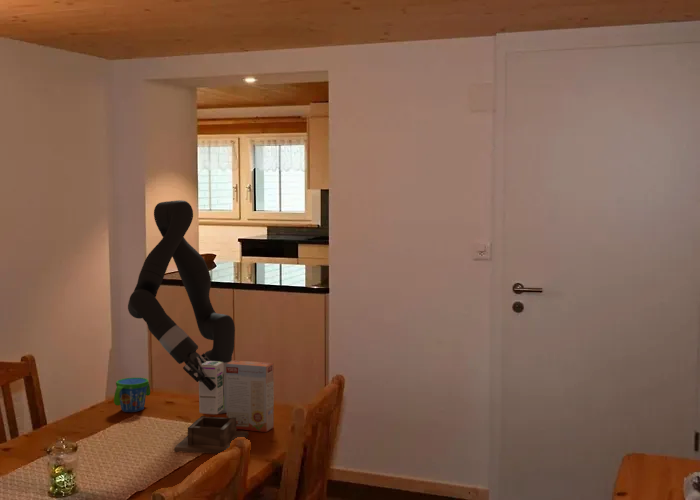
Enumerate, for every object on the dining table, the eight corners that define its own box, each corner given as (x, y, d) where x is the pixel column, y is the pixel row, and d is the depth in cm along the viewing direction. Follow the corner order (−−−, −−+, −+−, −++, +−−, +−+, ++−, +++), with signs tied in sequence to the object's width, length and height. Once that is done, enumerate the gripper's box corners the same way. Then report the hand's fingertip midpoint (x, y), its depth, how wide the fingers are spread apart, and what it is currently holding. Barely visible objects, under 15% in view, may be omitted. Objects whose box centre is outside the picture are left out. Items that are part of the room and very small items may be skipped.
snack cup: (139, 402, 265) (138, 374, 265) (160, 407, 260) (160, 378, 259) (103, 413, 252) (103, 383, 251) (125, 418, 246) (125, 387, 246)
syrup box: (217, 414, 218) (217, 365, 217) (198, 413, 219) (198, 364, 218) (224, 409, 223) (224, 361, 222) (205, 408, 224) (205, 360, 224)
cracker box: (274, 427, 237) (274, 362, 236) (266, 433, 232) (266, 366, 230) (235, 423, 242) (234, 359, 240) (225, 428, 236) (225, 362, 235)
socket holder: (195, 432, 231) (194, 413, 231) (248, 435, 229) (248, 415, 229) (174, 451, 215) (174, 430, 214) (231, 454, 212) (231, 433, 212)
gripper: (178, 340, 214) (218, 383, 213) (195, 331, 228) (233, 371, 227) (160, 357, 215) (200, 400, 214) (178, 348, 229) (216, 388, 228)
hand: (217, 385), depth 220 cm, fingers closed on syrup box, 6 cm apart
